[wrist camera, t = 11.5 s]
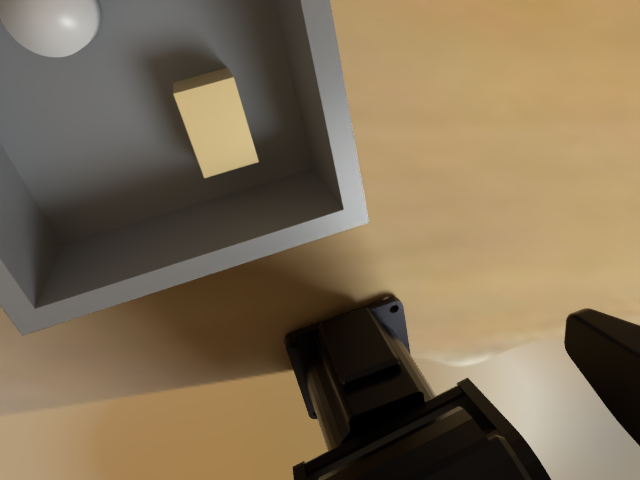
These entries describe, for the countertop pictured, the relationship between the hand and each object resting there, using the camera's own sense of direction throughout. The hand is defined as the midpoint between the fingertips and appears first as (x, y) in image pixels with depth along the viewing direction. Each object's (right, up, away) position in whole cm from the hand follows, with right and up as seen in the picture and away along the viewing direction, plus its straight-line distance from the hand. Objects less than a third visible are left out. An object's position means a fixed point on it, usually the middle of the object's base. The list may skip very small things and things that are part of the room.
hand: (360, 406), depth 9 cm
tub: (-7, +9, +8) cm, 14 cm away
